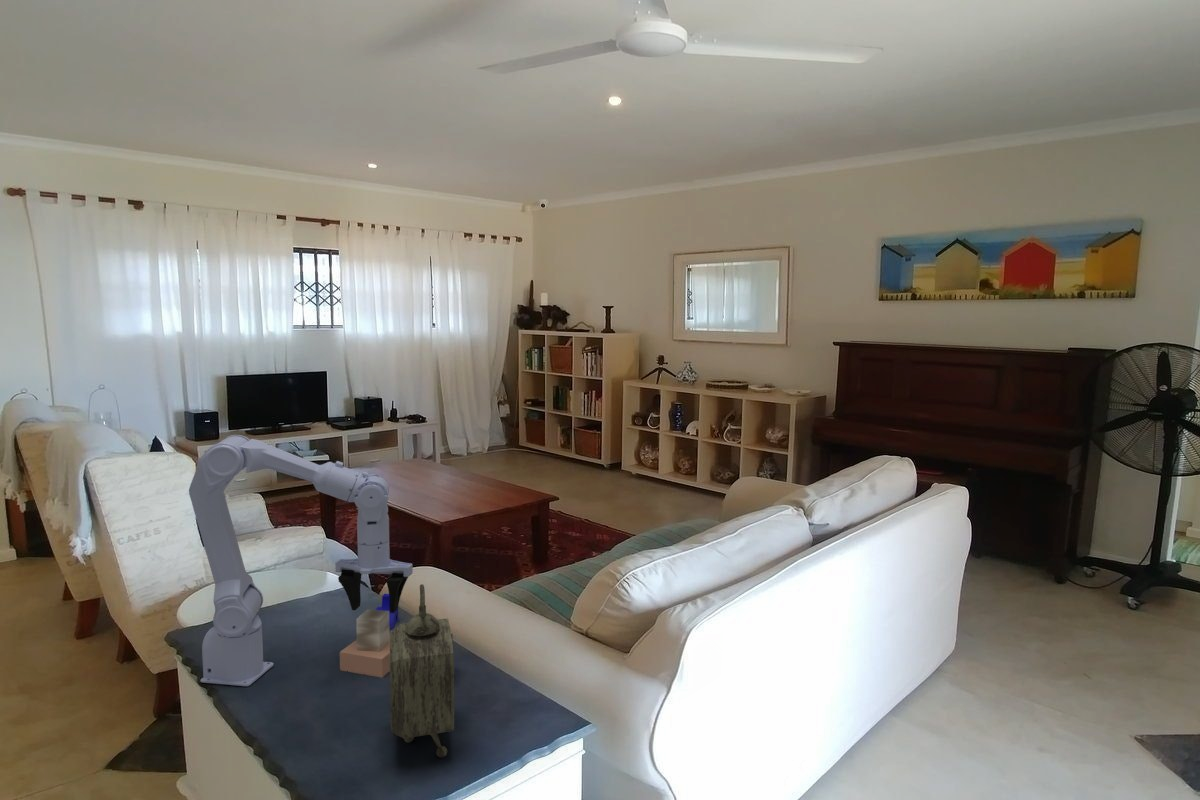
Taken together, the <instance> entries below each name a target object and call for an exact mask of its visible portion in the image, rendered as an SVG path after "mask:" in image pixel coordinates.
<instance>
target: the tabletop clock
mask: <svg viewBox="0 0 1200 800" xmlns="http://www.w3.org/2000/svg"><path fill="white" fill-rule="evenodd" d="M451 631H452V630H451V626H450V621H449V619H448V618H441V619H437V618H436V616H434V615H433V614H431V613H429V612H427V605H426V594H425V586H424V584H420V585H419V605H418V613H417V614H415V615H413V616H411V618H410V619H409V620H408V622H402V623H400V624H398V625H397V626H396V627H395V626H394V627H393V629H392V630H391V631H390V633H389V635H390V671H389V702H390V703H389V704H390V707H389V708H390V733H391V734H394V735H396V736H398V737H400V738H402V739H403V741H404V742H405V743H411V742H413V740H414V739H415V738H416V737H422V736H428V735H430V736H431V737H432V739H433V741H434V743H435V745H436V747H437V749H436V751H435V753H436V756H438V758H440V759H441V758H442V759H443V758H445V757H446V756H447V754H448V749H447V747H445V745H442V744H441V742H440V738H439V735H438V734H440V733H441V734H442V733H447V732H448V733H449V732H454V731H455V666H454V665H455V664H454V663H455V660H454V659H455V658H454V647H453V646H454V645H453V639H452V637H451V634H452V632H451Z"/></svg>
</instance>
